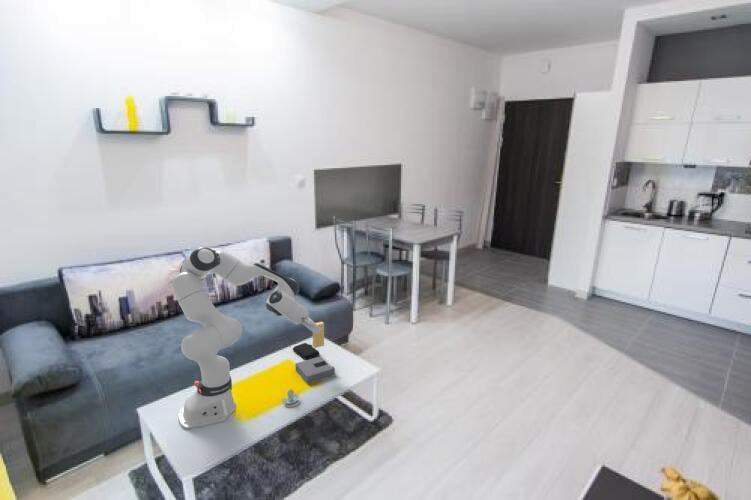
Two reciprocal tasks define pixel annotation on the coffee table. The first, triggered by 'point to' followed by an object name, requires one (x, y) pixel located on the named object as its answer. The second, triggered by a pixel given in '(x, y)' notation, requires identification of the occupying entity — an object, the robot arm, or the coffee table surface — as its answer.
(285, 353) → the coffee table surface
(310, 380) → the grey slotted base
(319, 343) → the tall tan cardboard box
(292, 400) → the pacifier
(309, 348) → the carrying case or bag
